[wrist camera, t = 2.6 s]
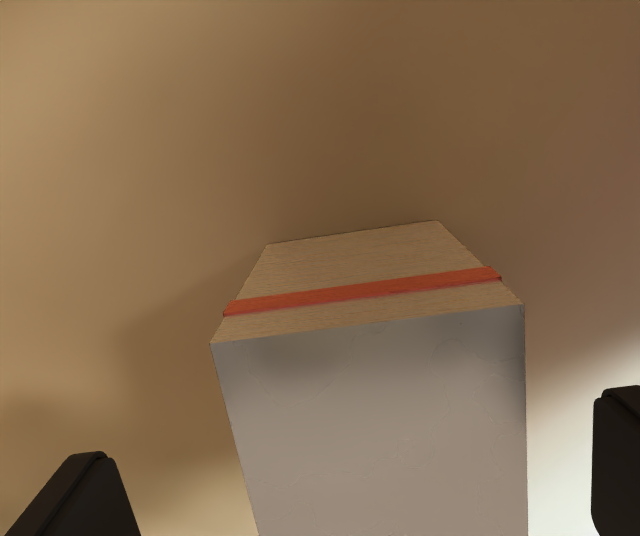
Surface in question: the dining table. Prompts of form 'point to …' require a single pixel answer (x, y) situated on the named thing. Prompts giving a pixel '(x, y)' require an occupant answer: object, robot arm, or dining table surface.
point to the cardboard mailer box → (377, 388)
